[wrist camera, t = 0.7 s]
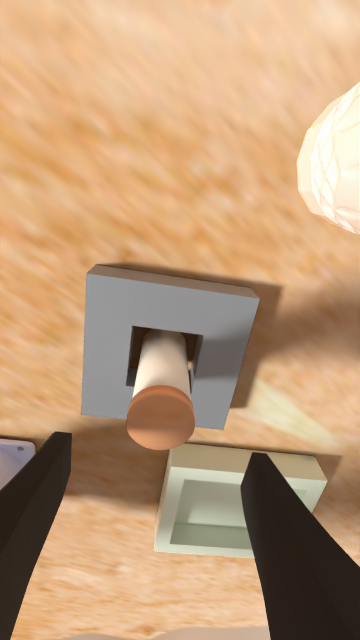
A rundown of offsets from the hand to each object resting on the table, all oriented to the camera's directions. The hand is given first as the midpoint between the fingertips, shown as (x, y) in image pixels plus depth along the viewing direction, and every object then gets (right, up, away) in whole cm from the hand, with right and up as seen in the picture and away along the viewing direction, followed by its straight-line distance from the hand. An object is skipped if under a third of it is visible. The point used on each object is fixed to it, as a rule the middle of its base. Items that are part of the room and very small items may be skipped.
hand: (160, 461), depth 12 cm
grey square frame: (0, +4, +9) cm, 10 cm away
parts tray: (+5, -10, +15) cm, 19 cm away
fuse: (0, +4, +9) cm, 10 cm away
